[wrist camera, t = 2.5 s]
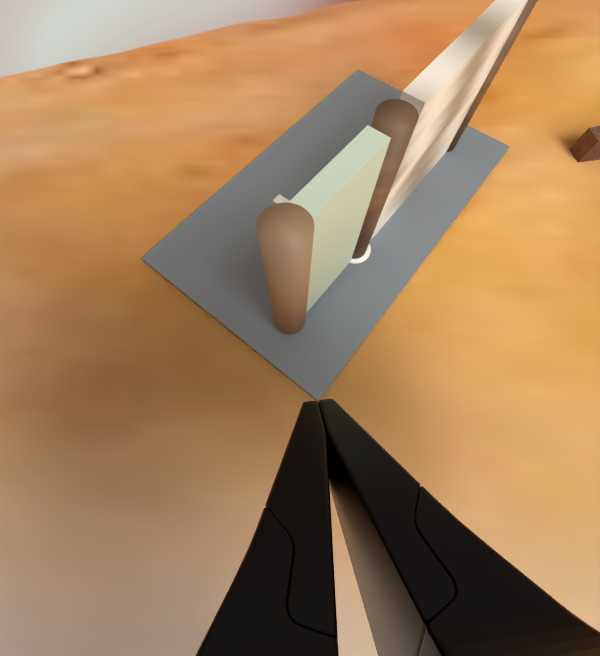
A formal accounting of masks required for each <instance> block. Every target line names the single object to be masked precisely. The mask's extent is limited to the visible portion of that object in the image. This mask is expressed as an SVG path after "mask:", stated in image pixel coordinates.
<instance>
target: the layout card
mask: <svg viewBox="0 0 600 656" xmlns="http://www.w3.org/2000/svg"><path fill="white" fill-rule="evenodd" d="M401 95H402V92H401V91H399V90H397V89H395V88H393V87H391V86H389V85H387V84H385V83H383V82H381V81H379V80H377V79H375V78H373V77H371V76H370V75H368V74H366V73H364V72H362V71H360V70H357V71H356V72H355V73H354V74H352V75H351V76H350V77H349V78H348V79H347V80H345V81H344V82H343V83H342V84H341V85H340V86H339V87H337V88H336V89H335V90H334V91H333V92H332V93H331V94H329V95H328V96H327V97H326V98H325V99H324V100H322V101H321V102H320V103H319V104H318V105H317V106H316V107H314V108H313V109H312V110H311V111H310V112H309V113H307V114H306V115H305V116H304V117H303V118H302V119H301V120H299V121H298V122H297V123H296V124H295V125H294V126H292V127H291V128H290V129H289V130H288V131H287V132H286V133H284V134H283V135H282V136H281V137H280V138H279V139H278V140H276V141H275V142H274V143H273V144H272V145H271V146H269V147H268V148H267V149H266V150H265V151H264V152H263V153H261V154H260V155H259V156H258V157H257V158H256V159H254V160H253V161H252V162H251V163H250V164H249V165H248V166H246V167H245V168H244V169H243V170H242V171H241V172H240V173H238V174H237V175H236V176H235V177H234V178H233V179H231V180H230V181H229V182H228V183H227V184H226V185H225V186H223V187H222V188H221V189H220V190H219V191H218V192H216V193H215V194H214V195H213V196H212V197H211V198H210V199H208V200H207V201H206V202H205V203H204V204H203V205H201V206H200V207H199V208H198V209H197V210H196V211H195V212H193V213H192V214H191V215H190V216H189V217H188V218H187V219H185V220H184V221H183V222H182V223H181V224H180V225H178V226H177V227H176V228H175V229H174V230H173V231H172V232H170V233H169V234H168V235H167V236H166V237H165V238H163V239H162V240H161V241H160V242H159V243H158V244H157V245H155V246H154V247H153V248H152V249H151V250H150V251H148V252H147V253H146V254H145V255H144V256H143V257H142V258H141V259H142V260H143V261H144V262H145V263H147V264H148V265H149V266H150V267H152V268H153V269H154V270H155V271H157V272H158V273H159V274H160V275H161V276H163V277H164V278H165V279H166V280H168V281H169V282H170V283H171V284H173V285H174V286H175V287H176V288H178V289H179V290H180V291H181V292H183V293H184V294H185V295H186V296H188V297H189V298H190V299H191V300H193V301H194V302H195V303H196V304H198V305H199V306H200V307H201V308H203V309H204V310H205V311H206V312H207V313H209V314H210V315H211V316H212V317H214V318H215V319H216V320H217V321H219V322H220V323H221V324H222V325H224V326H225V327H226V328H227V329H229V330H230V331H231V332H232V333H234V334H235V335H236V336H237V337H239V338H240V339H241V340H242V341H244V342H245V343H246V344H247V345H248V346H250V347H251V348H252V349H253V350H255V351H256V352H257V353H258V354H260V355H261V356H262V357H263V358H265V359H266V360H267V361H268V362H270V363H271V364H272V365H273V366H275V367H276V368H277V369H278V370H280V371H281V372H282V373H283V374H285V375H286V376H287V377H288V378H289V379H291V380H292V381H293V382H294V383H296V384H297V385H298V386H299V387H301V388H302V389H303V390H304V391H306V392H307V393H308V394H309V395H311V396H312V397H313V398H314V399H316V400H317V401H318V400H319V399H320V398H321V396H322V395H323V394H324V393H325V391H326V390H327V389H328V387H329V386H330V385H331V383H332V382H333V381H334V379H335V378H336V377H337V375H338V374H339V373H340V371H341V370H342V369H343V367H344V366H345V365H346V363H347V362H348V361H349V359H350V358H351V357H352V355H353V354H354V353H355V351H356V350H357V349H358V347H359V346H360V345H361V343H362V342H363V341H364V339H365V338H366V337H367V335H368V334H369V333H370V332H371V330H372V329H373V328H374V326H375V325H376V324H377V322H378V321H379V320H380V318H381V317H382V316H383V314H384V313H385V312H386V310H387V309H388V308H389V306H390V305H391V304H392V302H393V301H394V300H395V298H396V297H397V296H398V294H399V293H400V292H401V290H402V289H403V288H404V286H405V285H406V284H407V282H408V281H409V280H410V278H411V277H412V276H413V274H414V273H415V272H416V271H417V269H418V268H419V267H420V265H421V264H422V263H423V261H424V260H425V259H426V257H427V256H428V255H429V253H430V252H431V251H432V249H433V248H434V247H435V245H436V244H437V243H438V241H439V240H440V239H441V237H442V236H443V235H444V233H445V232H446V231H447V229H448V228H449V227H450V225H451V224H452V223H453V221H454V220H455V219H456V217H457V216H458V215H459V213H460V212H461V211H462V210H463V208H464V207H465V206H466V204H467V203H468V202H469V200H470V199H471V198H472V196H473V195H474V194H475V192H476V191H477V190H478V188H479V187H480V186H481V184H482V183H483V182H484V180H485V179H486V178H487V176H488V175H489V174H490V172H491V171H492V170H493V168H494V167H495V166H496V164H497V163H498V162H499V160H500V159H501V158H502V156H503V155H504V154H505V152H506V151H507V150H508V148H509V146H508V145H506V144H504V143H502V142H500V141H498V140H496V139H494V138H492V137H490V136H488V135H486V134H484V133H482V132H480V131H478V130H476V129H474V128H472V127H470V126H468V125H467V127H466V128H465V130H464V132H463V134H462V135H461V137H460V139H459V141H458V143H457V144H456V146H455V148H454V149H453V150H452V151H450V152H446V153H445V154H444V155H443V156H442V157H441V159H440V160H439V161H438V162H437V163H436V164H435V166H434V167H433V168H432V169H431V170H430V172H429V173H428V174H427V175H426V176H425V177H424V179H423V180H422V181H421V182H420V183H419V184H418V186H417V187H416V188H415V189H414V190H413V191H412V193H411V194H410V195H409V196H408V197H407V199H406V200H405V201H404V202H403V203H402V204H401V206H400V207H399V208H398V209H397V210H396V211H395V213H394V214H393V215H392V216H391V217H390V218H389V220H388V221H387V222H386V223H385V224H384V226H383V227H382V228H381V229H380V230H379V231H378V233H377V234H376V235H375V236H374V237H373V238H372V240H371V241H370V243H369V245H368V248H367V250H366V253H365V254H364V256H362V257H361V258H358V259H351V262H350V263H349V264H348V265H347V266H346V267H345V269H344V270H343V271H342V272H341V273H340V274H339V276H338V277H337V278H336V279H335V280H334V281H333V283H332V284H331V285H330V286H329V287H328V288H327V290H326V291H325V292H324V293H323V294H322V295H321V297H320V298H319V299H318V300H317V301H316V302H315V304H314V305H313V306H312V307H311V308H310V310H309V311H308V312H307V313H306V320H305V325H304V327H303V328H302V329H301V330H300V331H299V332H298V333H295V334H291V335H288V334H284V333H281V332H280V331H279V330H278V329H277V328H276V327H275V324H274V320H273V314H272V309H271V304H270V299H269V293H268V288H267V283H266V277H265V272H264V267H263V261H262V256H261V251H260V246H259V240H258V235H257V229H256V224H257V220H258V217H259V216H260V214H261V213H262V212H263V211H264V210H265V209H266V208H268V207H269V206H271V205H274V204H277V203H286V202H287V203H288V202H289V201H290V200H291V199H292V198H293V197H294V196H295V195H296V194H298V193H299V192H300V191H301V190H302V189H303V188H304V187H305V186H306V185H307V184H308V183H309V182H310V181H311V180H312V179H313V178H314V177H315V176H316V175H317V174H318V173H319V172H320V171H321V170H322V169H323V168H324V167H325V166H326V165H327V164H328V163H329V162H330V161H331V160H332V159H333V158H334V157H335V156H337V155H338V154H339V153H340V152H341V151H342V150H343V149H344V148H345V147H346V146H347V145H348V144H349V143H350V142H351V141H352V140H353V139H354V138H355V137H356V136H357V135H358V134H359V133H360V132H361V131H362V130H363V129H364V128H365V127H366V126H367V125H369V126H370V127H371V126H372V122H373V118H374V114H375V110H376V107H377V106H378V105H379V104H380V103H381V102H383V101H385V100H388V99H400V98H401Z"/></svg>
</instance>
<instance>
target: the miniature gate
mask: <svg viewBox="0 0 600 656" xmlns="http://www.w3.org/2000/svg"><path fill="white" fill-rule="evenodd" d="M570 151H571V152H572V154H573V155H574V157H575V158H576V160H577V161H578V162H584V161H591V160H599V159H600V126H598V127H593V128H589V129H588V130H587V131H586V132H585V133H584V134H583V135H582V137H581V138H580V139H579V140H578V141H577V142H576V143H575V144H574V145H573V146H572V148H571V149H570Z"/></svg>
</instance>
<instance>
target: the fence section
mask: <svg viewBox="0 0 600 656" xmlns="http://www.w3.org/2000/svg"><path fill="white" fill-rule="evenodd" d="M536 2H537V0H496V1H494V2H493V3H492V4H491V5H490V6H489V7H488V8H487V9H486V10H485V11H484V12H483V13H482V14H481V15H480V16H479V17H478V18H477V19H476V20H475V21H474V22H473V23H472V24H471V25H470V26H469V27H468V28H467V29H466V30H465V31H464V32H463V33H462V34H461V35H460V36H459V37H458V38H457V39H456V40H454V41H453V42H452V43H451V44H450V45H449V46H448V47H447V48H446V49H445V50H444V51H443V52H442V53H441V54H440V55H439V56H438V57H437V58H436V59H435V60H434V61H433V62H432V63H431V64H430V65H429V66H428V67H427V68H426V69H425V70H424V71H423V72H422V73H421V74H420V75H419V76H418V77H417V78H416V79H414V80H413V81H412V82H411V83H410V84H409V85H408V86H407V87H406V88H405V89H404V90H403V91H402V95H401V98H400V99H388V100H385V101H383V102H381V103H380V104H379V105H378V106H377V107H376V110H375V114H374V118H373V122H372V126H371V127H372V128H374V129H376V130H378V131H380V132H381V133H383V134H385V135H387V136H389V137H390V138H391V139H390V143H389V146H388V149H387V152H386V155H385V158H384V161H383V164H382V167H381V170H380V173H379V176H378V179H377V182H376V185H375V188H374V191H373V194H372V197H371V201H370V204H369V207H368V210H367V213H366V216H365V219H364V222H363V225H362V228H361V231H360V234H359V237H358V240H357V243H356V246H355V249H354V252H353V255H352V259H358V258H361V257H362V256H364V254H365V253H366V250H367V248H368V245H369V243H370V241H371V240H372V238H373V237H374V236H375V235H376V234H377V233H378V231H379V230H380V229H381V228H382V227H383V226H384V224H385V223H386V222H387V221H388V220H389V218H390V217H391V216H392V215H393V214H394V213H395V211H396V210H397V209H398V208H399V207H400V206H401V204H402V203H403V202H404V201H405V200H406V199H407V197H408V196H409V195H410V194H411V193H412V191H413V190H414V189H415V188H416V187H417V186H418V184H419V183H420V182H421V181H422V180H423V179H424V177H425V176H426V175H427V174H428V173H429V172H430V170H431V169H432V168H433V167H434V166H435V164H436V163H437V162H438V161H439V160H440V159H441V157H442V156H443V155H444V154H445V153H446V152H450V151H452V150H453V149H454V148H455V146H456V144H457V143H458V141H459V139H460V137H461V135H462V134H463V132H464V130H465V128H466V127H467V125H468V123H469V121H470V119H471V118H472V116H473V114H474V112H475V111H476V109H477V107H478V105H479V103H480V102H481V100H482V98H483V96H484V95H485V93H486V91H487V89H488V87H489V86H490V84H491V82H492V80H493V79H494V77H495V75H496V73H497V71H498V70H499V68H500V66H501V64H502V63H503V61H504V59H505V57H506V55H507V54H508V52H509V50H510V48H511V47H512V45H513V43H514V41H515V39H516V38H517V36H518V34H519V32H520V31H521V29H522V27H523V25H524V23H525V22H526V20H527V18H528V16H529V15H530V13H531V11H532V9H533V7H534V6H535V4H536Z"/></svg>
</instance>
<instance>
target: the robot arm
mask: <svg viewBox="0 0 600 656" xmlns="http://www.w3.org/2000/svg"><path fill="white" fill-rule="evenodd" d="M329 485H330V488H329ZM330 489H331V493H332V496H333V500H334V503H335V507H336V510H337V514H338V517H339V521H340V524H341V528H342V531H343V535H344V538H345V541H346V545H347V548H348V552H349V555H350V559H351V562H352V566H353V569H354V573H355V576H356V580H357V583H358V587H359V590H360V594H361V597H362V601H363V604H364V608H365V611H366V614H367V618H368V621H369V625H370V628H371V632H372V635H373V639H374V642H375V646H376V649H377V653H378V656H600V632H599V631H597V630H596V629H594V628H593V627H591V626H590V625H588V624H587V623H585V622H584V621H582V620H581V619H580V618H578V617H577V616H575V615H574V614H573V613H571V612H570V611H569V610H567V609H566V608H565V607H564V606H562V605H561V604H560V603H558V602H557V601H556V600H555V599H553V598H552V597H551V596H550V595H549V594H547V593H546V592H545V591H544V590H542V589H541V588H540V587H539V586H538V585H536V584H535V583H534V582H533V581H531V580H530V579H529V578H528V577H527V576H525V575H524V574H523V573H522V572H520V571H519V570H518V569H517V568H516V567H514V566H513V565H512V564H511V563H509V562H508V561H507V560H506V559H505V558H503V557H502V556H501V555H500V554H498V553H497V552H496V551H495V550H494V549H492V548H491V547H490V546H489V545H487V544H486V543H485V542H484V541H483V540H481V539H480V538H479V537H478V536H477V535H475V534H474V533H473V532H472V531H471V530H470V529H468V528H467V527H466V526H465V525H464V524H463V523H461V522H460V521H459V520H458V519H457V518H456V517H455V516H453V515H452V514H451V513H450V512H449V511H448V510H447V509H446V508H445V507H444V506H443V505H442V504H441V503H439V502H438V501H437V500H436V499H435V498H434V497H433V496H432V495H431V494H430V493H429V492H428V491H427V490H426V489H425V488H424V487H423V486H421V487H420V483H419V482H418V481H417V480H416V479H414V478H413V477H412V476H411V475H410V474H409V473H408V472H407V471H406V470H405V469H404V468H403V467H402V466H401V465H400V464H399V463H398V462H397V461H396V460H395V459H394V458H393V457H392V456H391V455H390V454H389V453H388V452H387V451H386V450H385V449H384V448H383V447H382V446H381V445H380V444H378V443H377V442H376V441H375V440H374V439H373V438H372V437H371V436H370V435H369V434H368V433H367V432H366V431H365V430H364V429H363V428H362V427H361V426H360V425H359V424H358V423H357V422H356V421H355V420H354V419H353V418H352V417H351V416H350V415H349V414H348V413H347V412H346V411H345V410H343V409H342V408H341V407H340V406H339V405H338V404H337V403H336V402H335V401H334V400H333V399H326V400H320V401H319V402H317V401H309V402H304V403H303V405H302V407H301V410H300V413H299V415H298V418H297V421H296V423H295V426H294V429H293V432H292V434H291V437H290V440H289V442H288V445H287V448H286V451H285V453H284V456H283V459H282V461H281V464H280V467H279V470H278V472H277V475H276V478H275V480H274V483H273V486H272V489H271V491H270V494H269V497H268V499H267V502H266V507H265V508H264V510H263V512H262V515H261V518H260V520H259V523H258V526H257V528H256V531H255V533H254V536H253V538H252V541H251V543H250V546H249V548H248V550H247V552H246V555H245V557H244V559H243V561H242V563H241V565H240V567H239V570H238V572H237V574H236V576H235V578H234V580H233V582H232V584H231V586H230V588H229V590H228V592H227V594H226V596H225V598H224V600H223V602H222V604H221V606H220V608H219V610H218V612H217V614H216V616H215V618H214V620H213V622H212V624H211V626H210V628H209V630H208V632H207V634H206V636H205V638H204V640H203V642H202V644H201V646H200V648H199V650H198V652H197V654H196V656H338V639H337V619H336V600H335V582H334V563H333V544H332V526H331V507H330Z"/></svg>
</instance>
